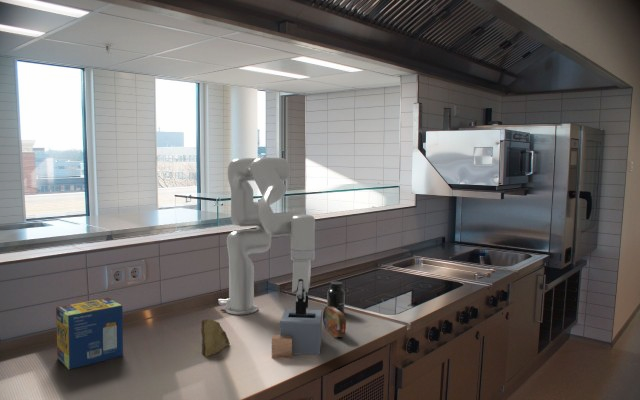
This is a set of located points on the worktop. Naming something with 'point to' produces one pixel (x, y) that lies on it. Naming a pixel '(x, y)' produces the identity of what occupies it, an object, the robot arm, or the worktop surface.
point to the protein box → (89, 332)
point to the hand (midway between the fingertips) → (301, 310)
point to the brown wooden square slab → (282, 346)
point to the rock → (212, 337)
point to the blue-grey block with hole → (303, 330)
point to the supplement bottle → (336, 296)
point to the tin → (334, 321)
